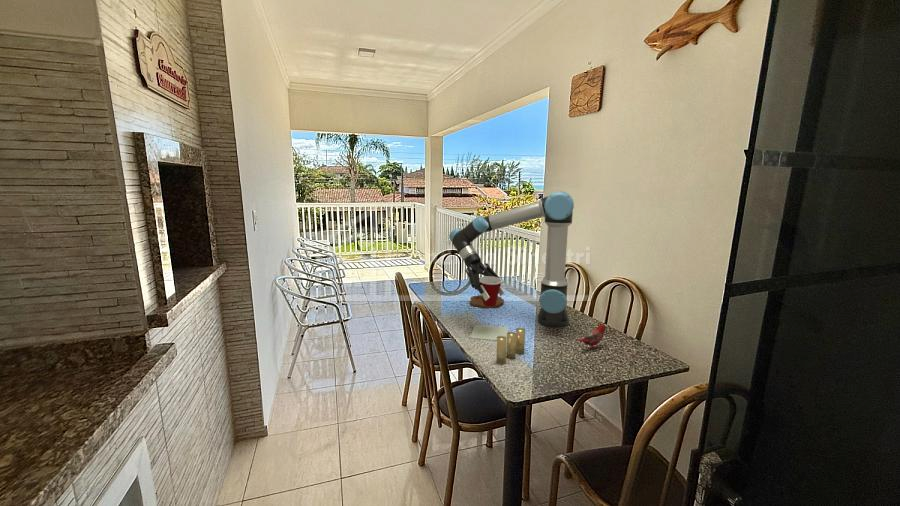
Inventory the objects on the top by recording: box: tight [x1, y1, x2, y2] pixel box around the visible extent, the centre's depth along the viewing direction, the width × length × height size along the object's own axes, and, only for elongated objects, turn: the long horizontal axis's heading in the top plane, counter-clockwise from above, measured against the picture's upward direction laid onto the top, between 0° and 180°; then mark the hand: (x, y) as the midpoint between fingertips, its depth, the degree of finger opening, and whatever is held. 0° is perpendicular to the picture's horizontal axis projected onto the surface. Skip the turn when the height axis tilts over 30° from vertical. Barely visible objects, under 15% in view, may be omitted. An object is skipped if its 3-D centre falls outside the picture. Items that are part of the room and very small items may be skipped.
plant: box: [469, 289, 505, 310], centre depth 214 cm, size 20×20×11 cm
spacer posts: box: [496, 327, 526, 365], centre depth 146 cm, size 4×16×10 cm, turn 133°
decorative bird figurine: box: [575, 323, 607, 350], centre depth 152 cm, size 3×18×10 cm, turn 118°
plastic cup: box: [479, 275, 503, 306], centre depth 167 cm, size 11×11×12 cm
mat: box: [469, 324, 510, 342], centre depth 171 cm, size 16×16×1 cm
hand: (495, 296), depth 165 cm, fingers closed on plastic cup, 10 cm apart
